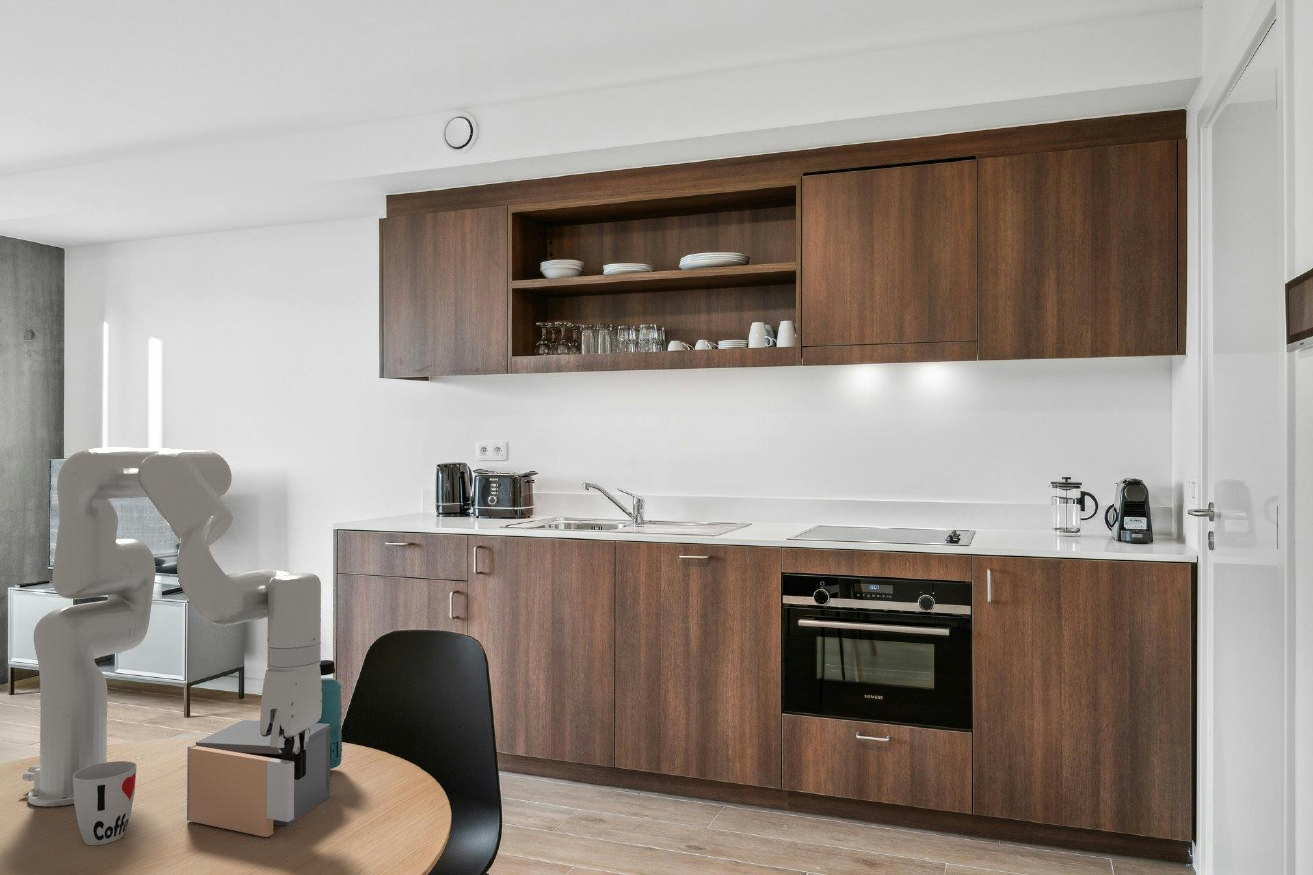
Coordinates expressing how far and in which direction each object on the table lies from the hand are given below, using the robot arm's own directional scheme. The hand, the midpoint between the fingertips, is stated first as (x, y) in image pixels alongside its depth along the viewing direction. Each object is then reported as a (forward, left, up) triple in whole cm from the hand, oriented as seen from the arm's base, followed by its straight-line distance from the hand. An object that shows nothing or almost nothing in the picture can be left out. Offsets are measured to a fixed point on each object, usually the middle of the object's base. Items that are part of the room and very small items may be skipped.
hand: (293, 777), depth 134 cm
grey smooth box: (-10, +8, -8) cm, 15 cm away
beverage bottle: (-9, +24, -8) cm, 27 cm away
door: (-8, -1, -8) cm, 11 cm away
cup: (-27, -6, -8) cm, 29 cm away
